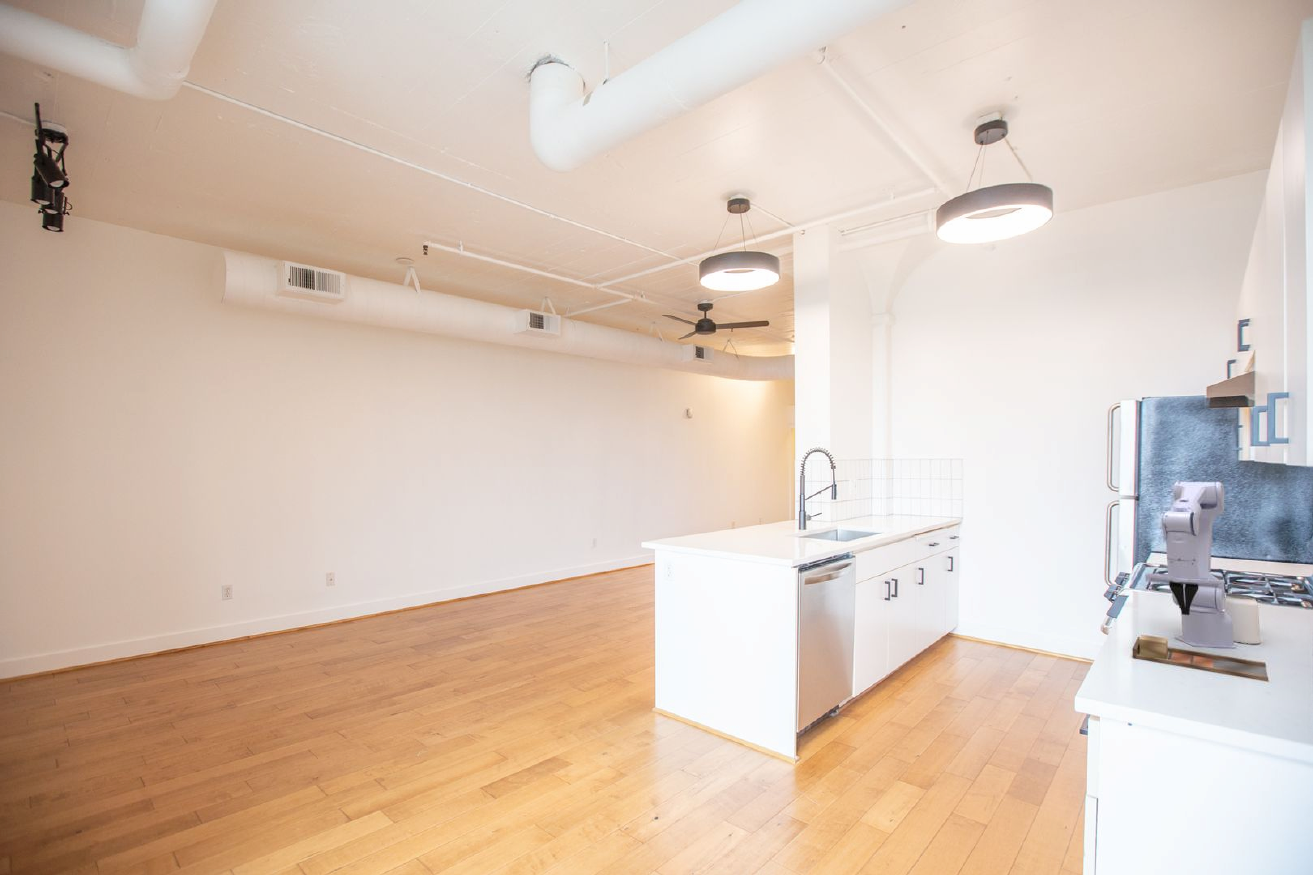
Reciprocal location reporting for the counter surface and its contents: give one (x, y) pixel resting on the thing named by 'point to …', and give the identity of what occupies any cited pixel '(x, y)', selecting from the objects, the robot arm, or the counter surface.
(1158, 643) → the block
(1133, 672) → the counter surface
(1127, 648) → the counter surface
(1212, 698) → the counter surface
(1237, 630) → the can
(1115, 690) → the counter surface
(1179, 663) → the tray
